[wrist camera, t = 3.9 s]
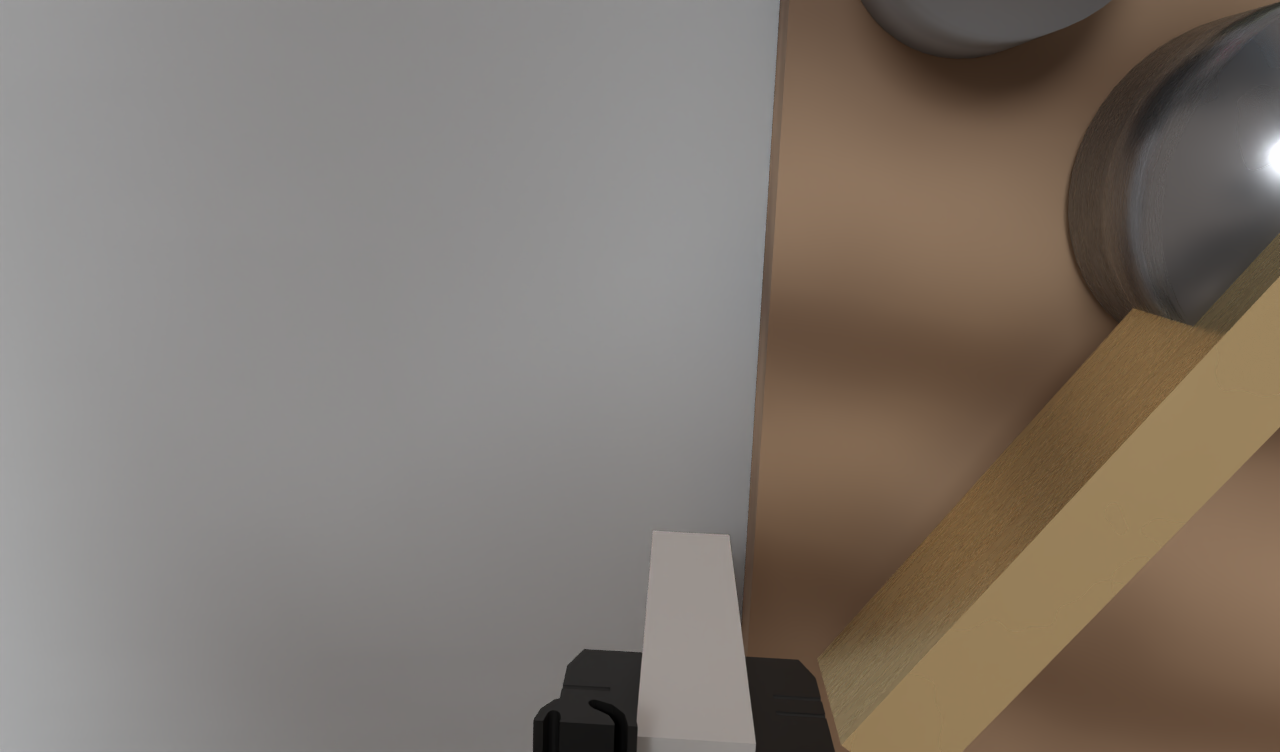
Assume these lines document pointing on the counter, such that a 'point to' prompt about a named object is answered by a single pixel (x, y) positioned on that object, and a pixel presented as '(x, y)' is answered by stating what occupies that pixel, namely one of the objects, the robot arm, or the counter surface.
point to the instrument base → (972, 356)
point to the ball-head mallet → (1102, 402)
